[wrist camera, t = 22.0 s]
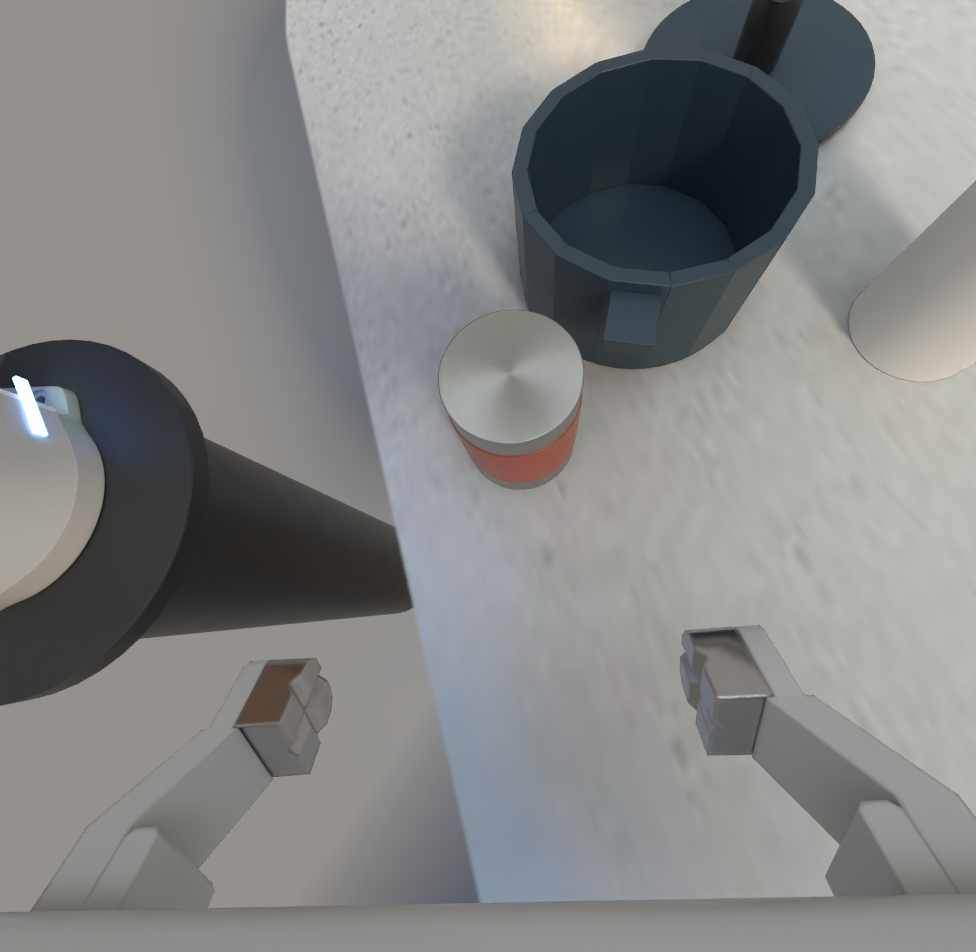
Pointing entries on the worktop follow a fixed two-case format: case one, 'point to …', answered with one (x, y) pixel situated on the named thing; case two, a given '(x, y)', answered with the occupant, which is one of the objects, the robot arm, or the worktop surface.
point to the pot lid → (791, 50)
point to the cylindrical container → (924, 302)
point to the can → (514, 395)
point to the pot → (657, 197)
